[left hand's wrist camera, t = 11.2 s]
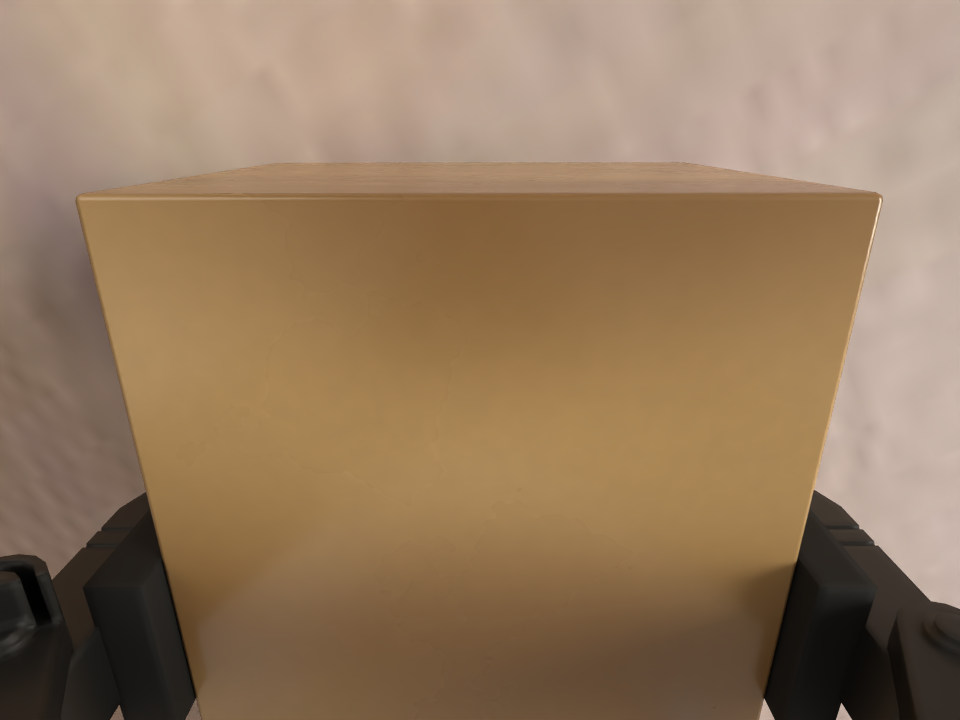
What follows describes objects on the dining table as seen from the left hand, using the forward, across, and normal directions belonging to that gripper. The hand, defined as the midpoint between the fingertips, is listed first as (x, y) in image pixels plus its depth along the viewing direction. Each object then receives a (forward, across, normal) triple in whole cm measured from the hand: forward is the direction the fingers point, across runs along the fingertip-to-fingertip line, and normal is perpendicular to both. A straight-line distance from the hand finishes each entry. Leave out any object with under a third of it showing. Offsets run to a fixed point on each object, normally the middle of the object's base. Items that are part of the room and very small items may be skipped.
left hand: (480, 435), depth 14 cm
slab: (+1, 0, -25) cm, 25 cm away
